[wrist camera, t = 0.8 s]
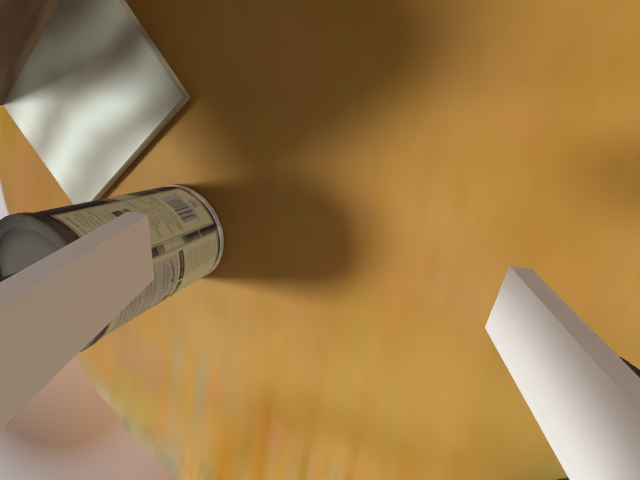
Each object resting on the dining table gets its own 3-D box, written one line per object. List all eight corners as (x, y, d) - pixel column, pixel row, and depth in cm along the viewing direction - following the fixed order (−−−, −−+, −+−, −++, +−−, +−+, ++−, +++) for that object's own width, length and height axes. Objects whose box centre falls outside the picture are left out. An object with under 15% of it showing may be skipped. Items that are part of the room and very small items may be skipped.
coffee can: (142, 258, 39) (-6, 318, 26) (148, 170, 35) (-22, 192, 22) (217, 293, 37) (96, 378, 24) (233, 204, 33) (97, 249, 20)
